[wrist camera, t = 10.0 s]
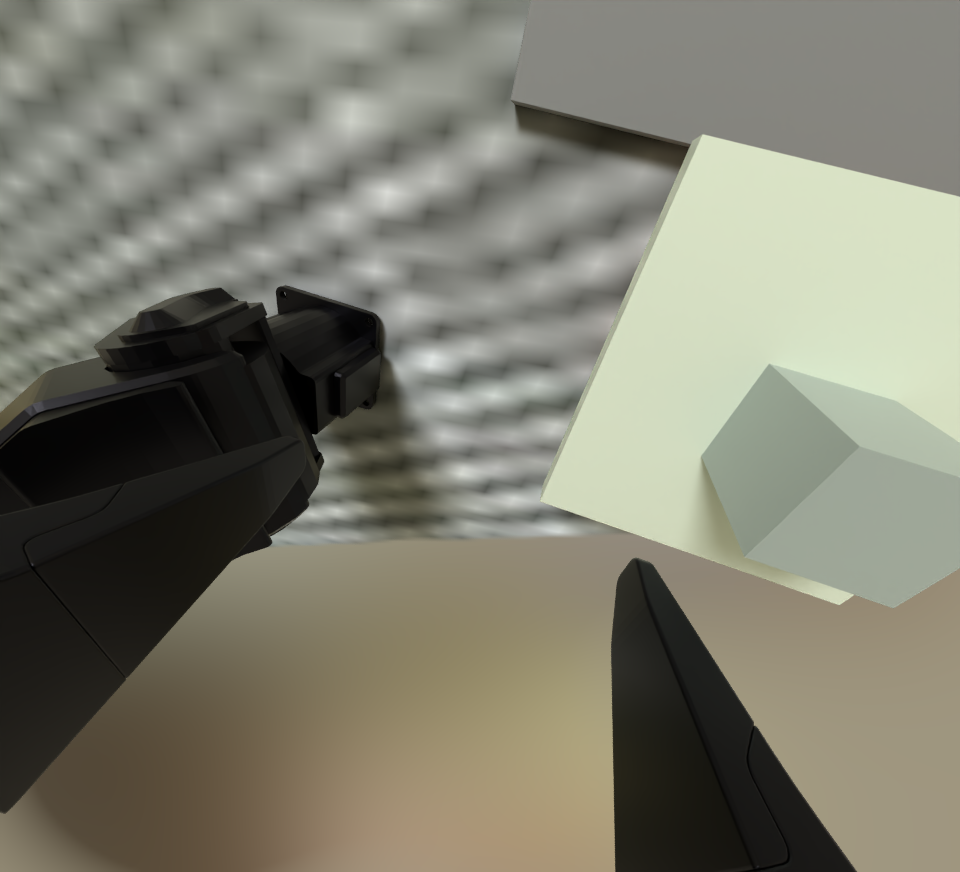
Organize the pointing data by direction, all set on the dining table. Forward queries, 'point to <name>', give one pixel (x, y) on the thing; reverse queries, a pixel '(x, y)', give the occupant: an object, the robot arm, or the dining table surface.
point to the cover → (783, 380)
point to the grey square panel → (760, 77)
